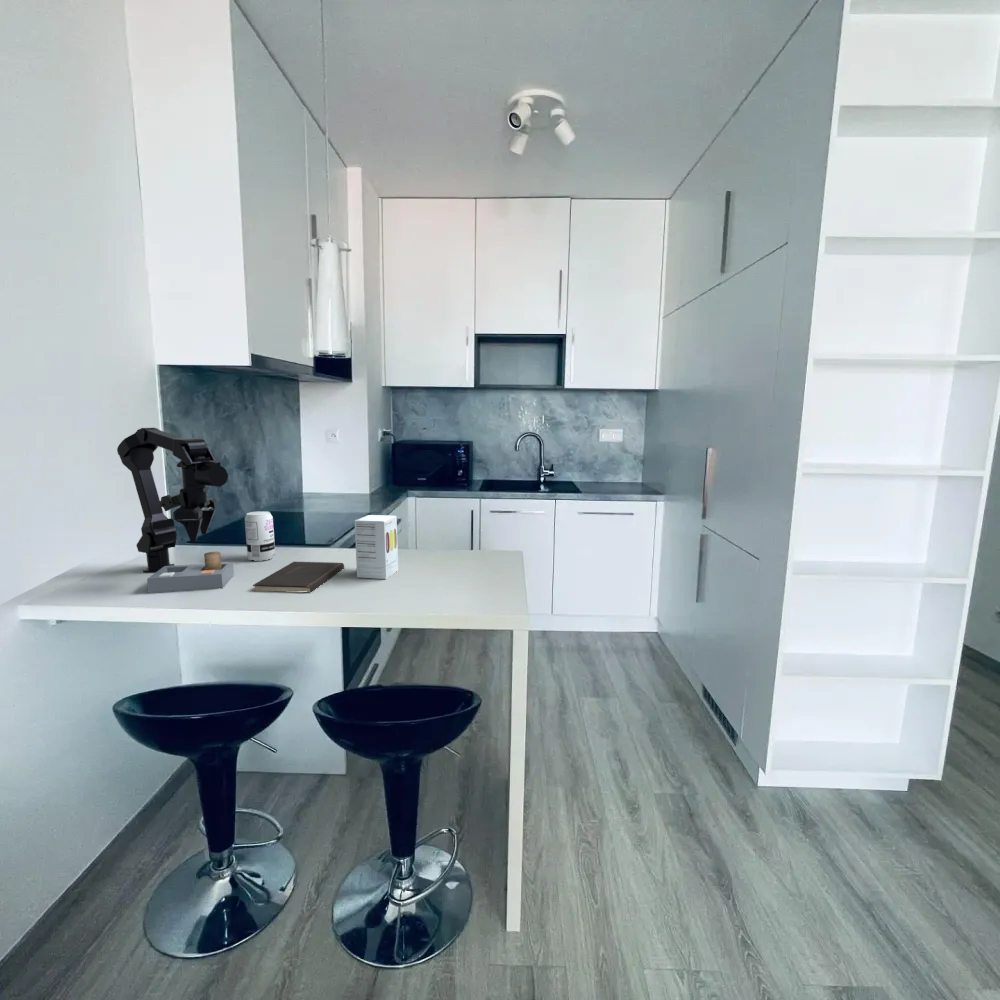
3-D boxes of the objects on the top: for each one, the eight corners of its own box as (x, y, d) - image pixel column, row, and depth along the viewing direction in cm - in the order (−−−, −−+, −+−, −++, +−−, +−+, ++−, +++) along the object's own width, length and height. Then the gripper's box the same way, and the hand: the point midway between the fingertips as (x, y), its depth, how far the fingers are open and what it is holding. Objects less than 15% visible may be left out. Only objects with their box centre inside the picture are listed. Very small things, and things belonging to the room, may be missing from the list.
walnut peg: (209, 579, 156) (206, 552, 155) (224, 578, 157) (221, 551, 155) (204, 583, 152) (202, 555, 151) (220, 582, 153) (217, 554, 152)
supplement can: (248, 556, 180) (245, 511, 178) (275, 554, 183) (272, 510, 180) (247, 563, 173) (243, 516, 170) (275, 560, 175) (271, 514, 173)
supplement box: (386, 579, 155) (384, 521, 152) (356, 578, 157) (353, 520, 154) (399, 570, 164) (397, 515, 161) (370, 568, 166) (368, 514, 163)
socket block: (166, 579, 156) (164, 565, 155) (234, 575, 159) (233, 561, 159) (148, 593, 144) (147, 577, 144) (222, 588, 148) (221, 572, 147)
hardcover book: (253, 593, 146) (252, 584, 145) (294, 568, 168) (293, 561, 168) (311, 595, 144) (310, 586, 144) (344, 570, 166) (344, 562, 166)
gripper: (175, 479, 161) (179, 531, 163) (148, 489, 143) (154, 547, 145) (216, 479, 163) (220, 530, 166) (195, 488, 145) (200, 546, 148)
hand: (198, 538), depth 156 cm, fingers open, 9 cm apart
